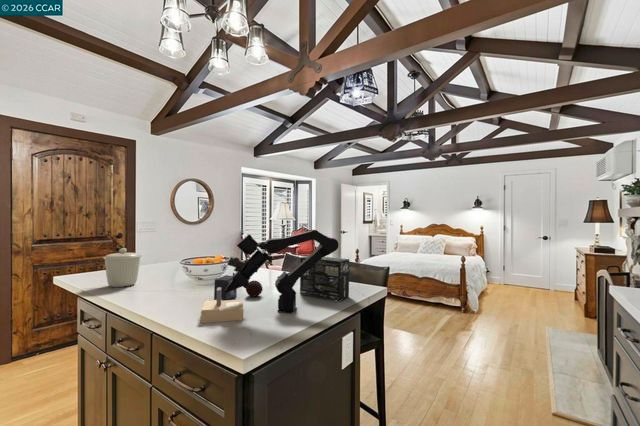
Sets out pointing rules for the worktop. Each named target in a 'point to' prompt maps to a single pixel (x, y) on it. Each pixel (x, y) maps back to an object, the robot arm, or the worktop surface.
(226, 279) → the small box
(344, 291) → the box
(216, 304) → the flap
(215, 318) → the carton
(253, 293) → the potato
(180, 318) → the worktop surface
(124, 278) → the canister
